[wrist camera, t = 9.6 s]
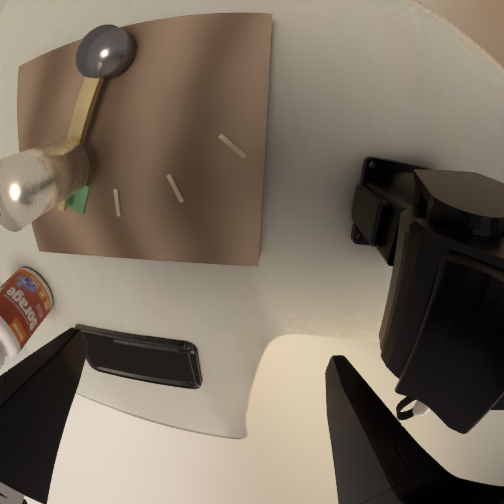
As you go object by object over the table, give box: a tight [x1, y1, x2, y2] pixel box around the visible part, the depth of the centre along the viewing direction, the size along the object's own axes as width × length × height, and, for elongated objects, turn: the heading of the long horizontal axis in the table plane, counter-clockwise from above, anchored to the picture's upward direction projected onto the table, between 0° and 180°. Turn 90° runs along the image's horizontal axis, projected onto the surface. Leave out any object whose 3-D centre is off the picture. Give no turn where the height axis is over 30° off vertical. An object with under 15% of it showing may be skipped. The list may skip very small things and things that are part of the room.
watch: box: [396, 396, 430, 420], centre depth 31 cm, size 8×5×4 cm, turn 145°
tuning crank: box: [0, 25, 136, 232], centre depth 11 cm, size 13×4×7 cm, turn 154°
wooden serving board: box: [17, 13, 272, 266], centre depth 16 cm, size 20×17×2 cm
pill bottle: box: [0, 268, 53, 368], centre depth 19 cm, size 6×6×11 cm
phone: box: [75, 324, 202, 389], centre depth 28 cm, size 8×1×15 cm
